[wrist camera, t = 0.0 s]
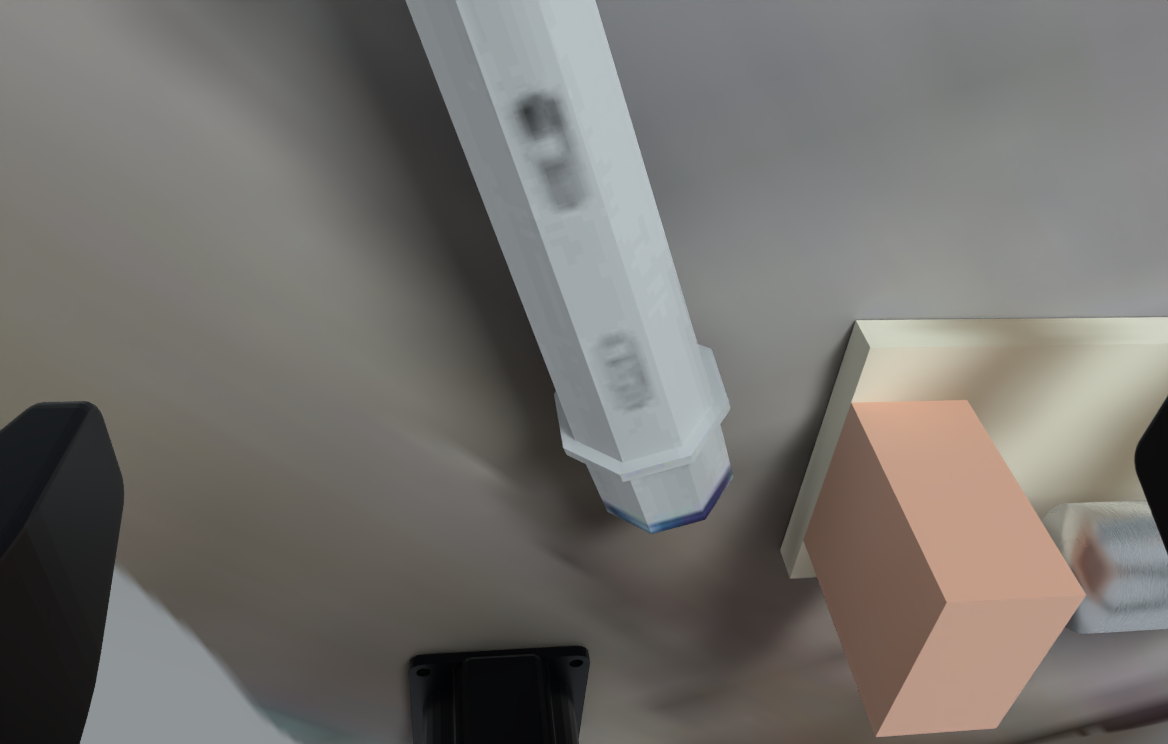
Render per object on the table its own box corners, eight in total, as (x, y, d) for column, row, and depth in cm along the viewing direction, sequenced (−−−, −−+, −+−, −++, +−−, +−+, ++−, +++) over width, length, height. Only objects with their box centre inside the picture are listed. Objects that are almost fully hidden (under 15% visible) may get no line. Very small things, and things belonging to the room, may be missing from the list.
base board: (1502, 313, 30) (1535, 338, 29) (1319, 526, 37) (1341, 551, 36) (855, 320, 27) (870, 347, 26) (779, 550, 34) (790, 578, 33)
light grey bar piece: (588, 561, 27) (-141, -839, 8) (556, 380, 31) (31, -807, 12) (774, 511, 26) (460, -1097, 8) (715, 334, 31) (420, -972, 12)
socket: (967, 399, 28) (1085, 594, 23) (906, 535, 32) (996, 728, 27) (851, 402, 28) (946, 602, 23) (803, 540, 31) (875, 736, 26)
